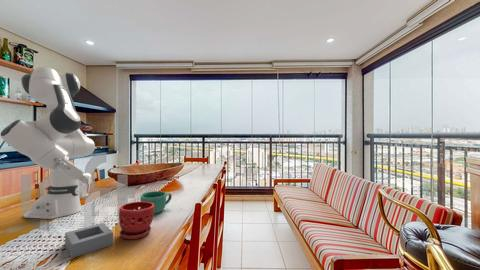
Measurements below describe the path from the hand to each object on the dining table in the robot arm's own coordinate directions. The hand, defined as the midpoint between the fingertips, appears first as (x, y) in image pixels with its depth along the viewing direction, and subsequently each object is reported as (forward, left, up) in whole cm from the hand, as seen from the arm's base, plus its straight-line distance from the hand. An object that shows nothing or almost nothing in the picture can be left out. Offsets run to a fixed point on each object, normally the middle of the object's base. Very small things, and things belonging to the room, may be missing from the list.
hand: (85, 180), depth 83 cm
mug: (+22, +26, -22) cm, 41 cm away
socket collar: (+7, -8, -22) cm, 24 cm away
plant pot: (+21, 0, -22) cm, 30 cm away
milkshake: (-1, 0, -6) cm, 6 cm away
